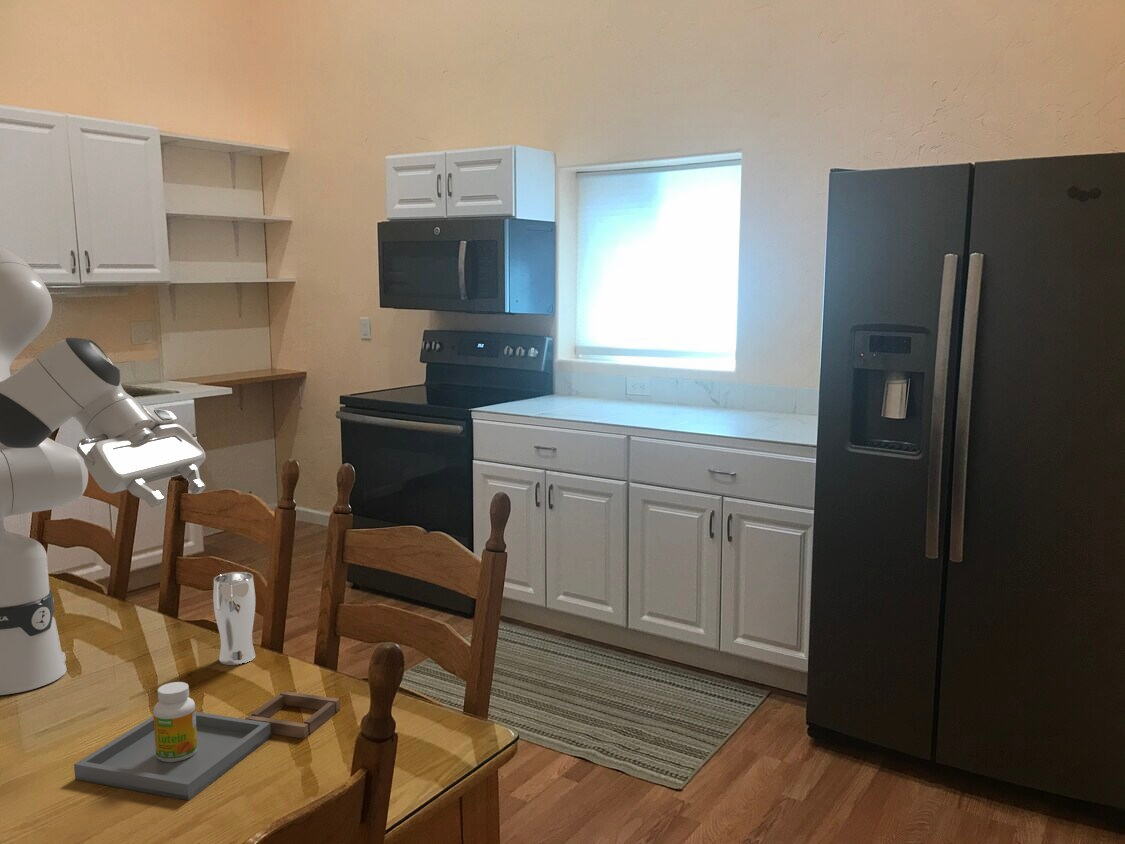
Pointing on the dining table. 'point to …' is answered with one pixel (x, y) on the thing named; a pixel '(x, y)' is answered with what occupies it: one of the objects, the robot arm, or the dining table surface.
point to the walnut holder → (294, 729)
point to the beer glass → (235, 616)
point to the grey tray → (142, 771)
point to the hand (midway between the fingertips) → (180, 497)
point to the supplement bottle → (175, 723)
